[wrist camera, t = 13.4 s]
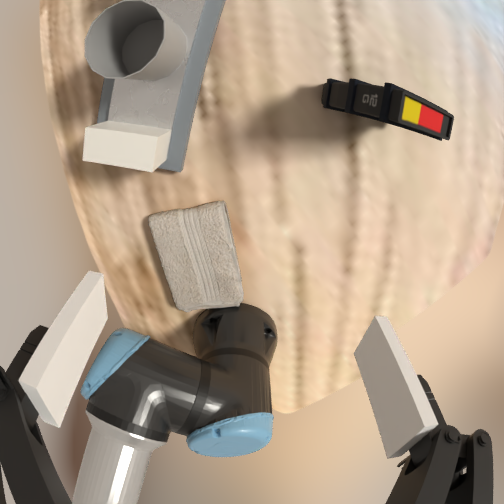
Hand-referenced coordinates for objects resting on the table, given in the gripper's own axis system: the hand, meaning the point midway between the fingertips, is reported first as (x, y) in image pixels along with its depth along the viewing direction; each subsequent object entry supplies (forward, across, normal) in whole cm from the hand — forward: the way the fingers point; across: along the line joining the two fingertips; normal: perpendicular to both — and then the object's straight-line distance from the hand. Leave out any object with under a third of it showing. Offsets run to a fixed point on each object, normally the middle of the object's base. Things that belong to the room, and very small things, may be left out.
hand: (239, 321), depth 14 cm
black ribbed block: (+29, -14, -13) cm, 35 cm away
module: (+27, +14, -3) cm, 31 cm away
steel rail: (+27, +14, -15) cm, 34 cm away
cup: (+27, +14, -14) cm, 33 cm away
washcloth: (+30, +4, +15) cm, 34 cm away
